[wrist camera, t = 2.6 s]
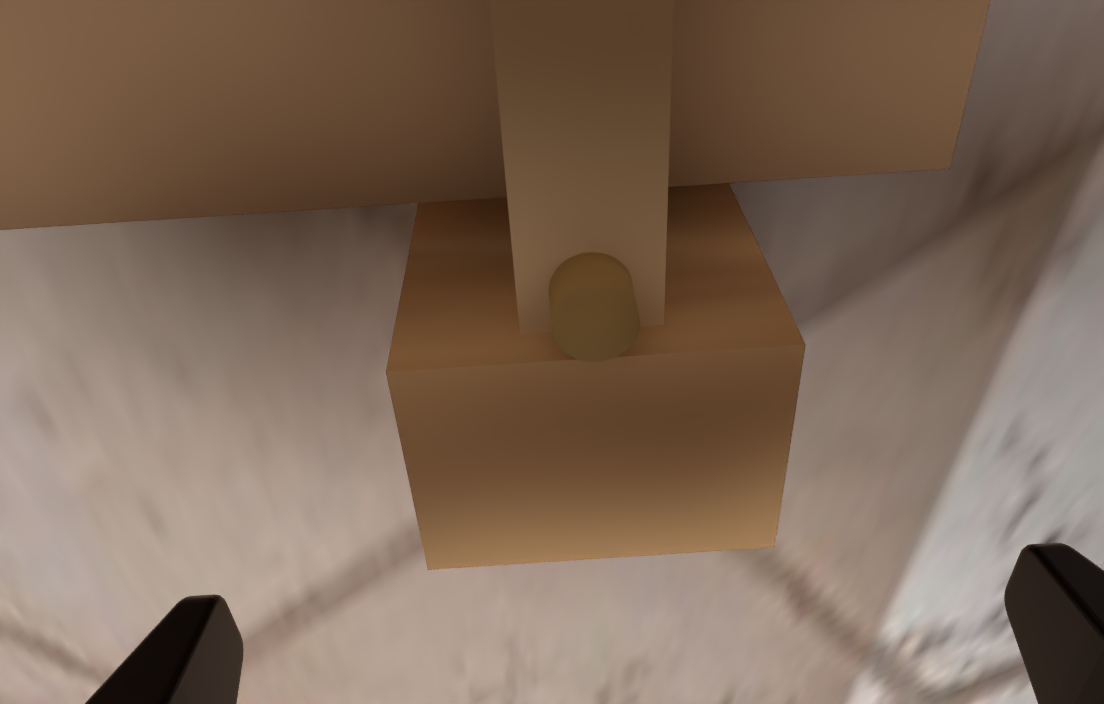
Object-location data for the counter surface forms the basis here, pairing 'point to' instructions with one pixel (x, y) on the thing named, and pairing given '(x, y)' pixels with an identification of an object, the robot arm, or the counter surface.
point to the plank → (433, 100)
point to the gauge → (590, 322)
